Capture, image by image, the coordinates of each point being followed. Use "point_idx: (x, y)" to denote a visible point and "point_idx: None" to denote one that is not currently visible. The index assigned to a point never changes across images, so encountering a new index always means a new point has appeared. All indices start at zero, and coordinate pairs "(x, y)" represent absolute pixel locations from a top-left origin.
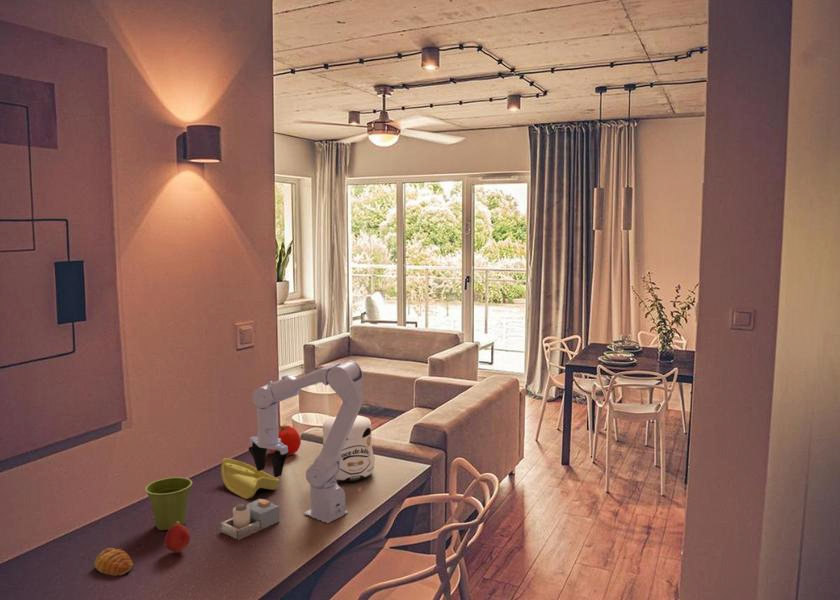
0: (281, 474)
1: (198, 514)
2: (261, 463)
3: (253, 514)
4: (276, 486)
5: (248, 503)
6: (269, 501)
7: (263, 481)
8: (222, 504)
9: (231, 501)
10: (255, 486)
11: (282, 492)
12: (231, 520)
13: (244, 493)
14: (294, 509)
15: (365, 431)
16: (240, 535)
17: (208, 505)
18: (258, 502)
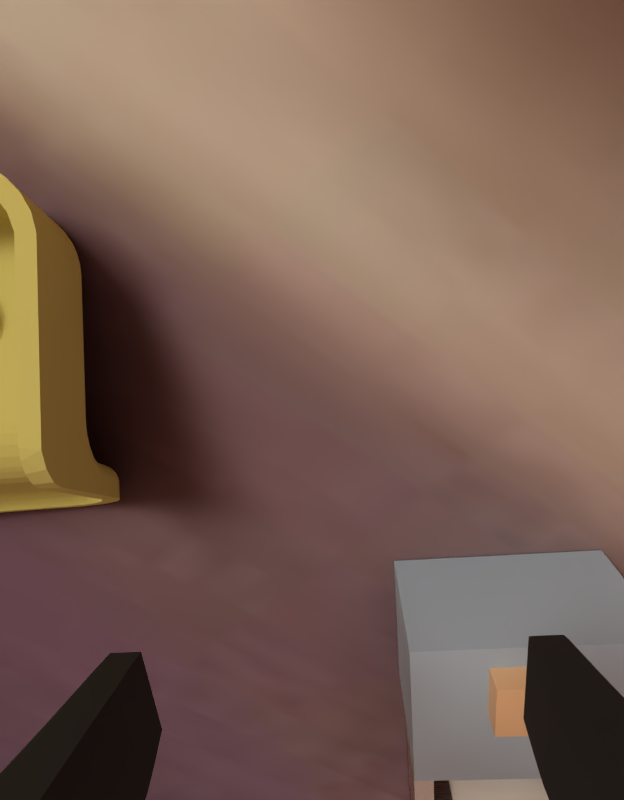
0: (574, 645)
1: None
2: (103, 793)
3: None
4: (55, 223)
5: (414, 741)
6: None
7: (59, 425)
8: (75, 628)
9: (66, 575)
10: (81, 494)
11: (168, 224)
12: (433, 795)
13: (26, 491)
14: (540, 364)
15: None
16: None
17: (35, 680)
18: (503, 730)
